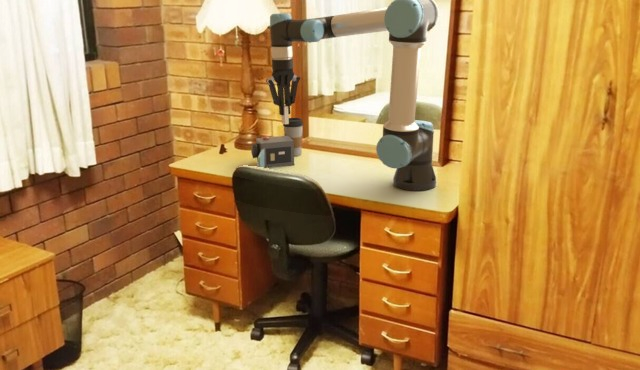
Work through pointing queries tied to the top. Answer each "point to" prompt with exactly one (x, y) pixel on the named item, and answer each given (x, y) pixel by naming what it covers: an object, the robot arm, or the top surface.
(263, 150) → the side door
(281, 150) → the camera body
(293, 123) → the coffee cup
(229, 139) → the top surface
